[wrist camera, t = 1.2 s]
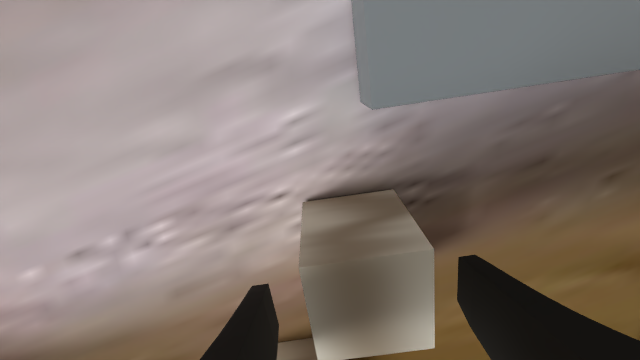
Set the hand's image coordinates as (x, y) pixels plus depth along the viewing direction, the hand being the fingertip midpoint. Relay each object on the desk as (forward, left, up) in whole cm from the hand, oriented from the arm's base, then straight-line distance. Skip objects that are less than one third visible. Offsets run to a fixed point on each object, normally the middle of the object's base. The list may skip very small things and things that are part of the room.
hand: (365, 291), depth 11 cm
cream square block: (0, 0, -4) cm, 4 cm away
